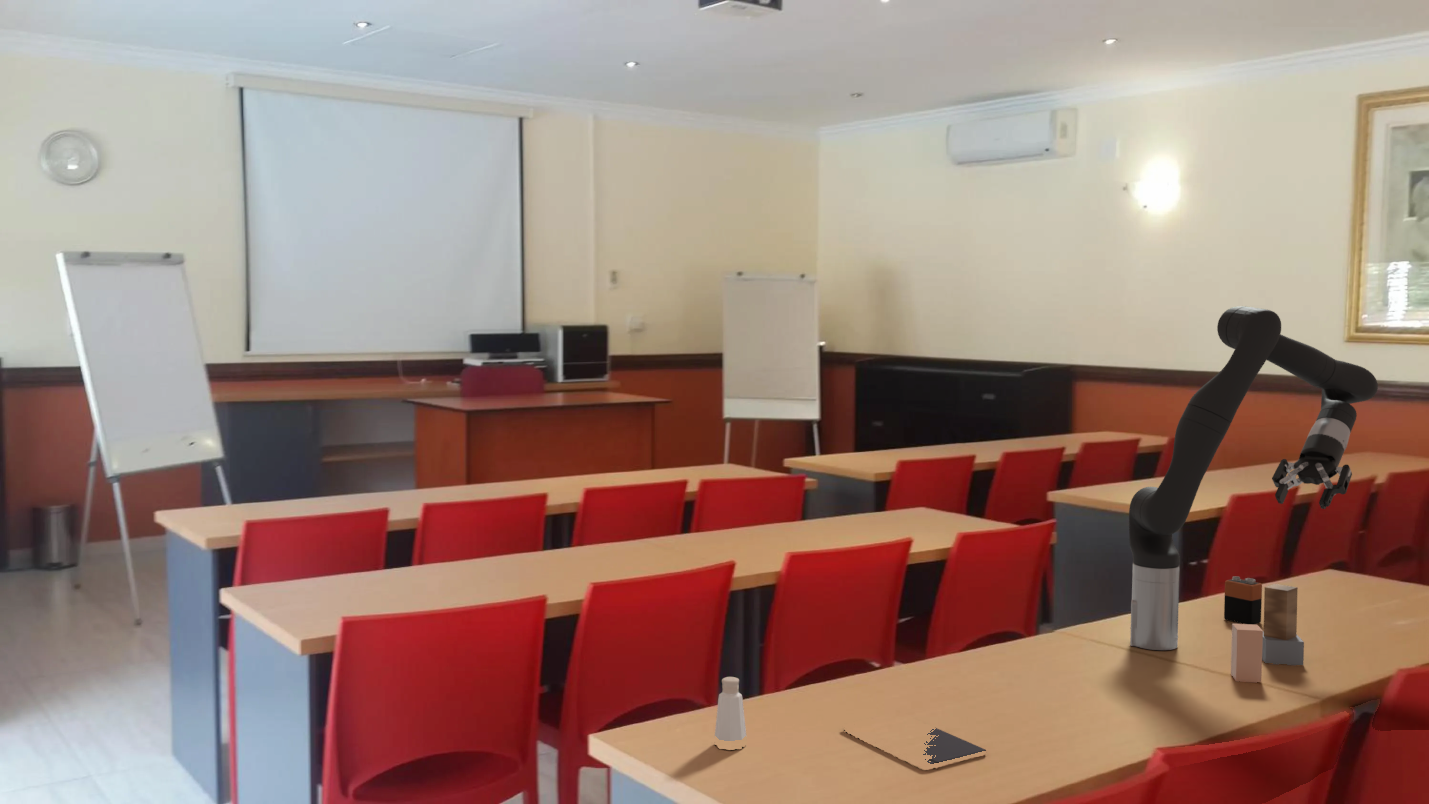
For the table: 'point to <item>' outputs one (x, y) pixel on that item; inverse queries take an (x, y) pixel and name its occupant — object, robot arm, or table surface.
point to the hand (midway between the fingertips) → (1300, 503)
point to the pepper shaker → (730, 712)
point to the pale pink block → (1246, 652)
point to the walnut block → (1280, 611)
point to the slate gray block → (1283, 650)
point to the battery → (1243, 600)
